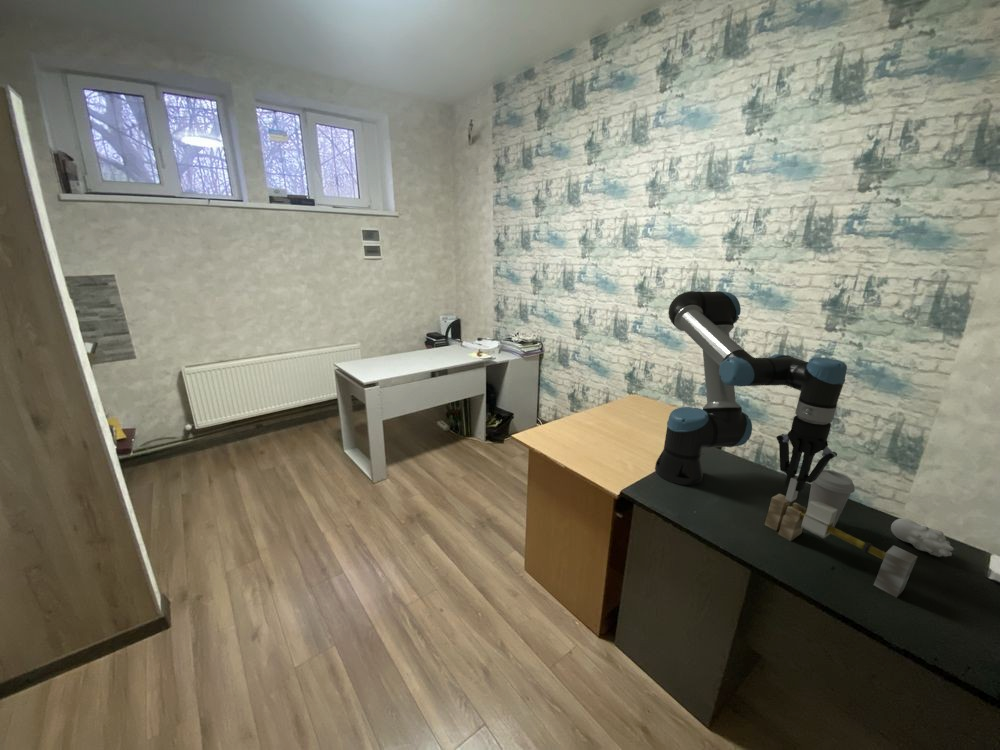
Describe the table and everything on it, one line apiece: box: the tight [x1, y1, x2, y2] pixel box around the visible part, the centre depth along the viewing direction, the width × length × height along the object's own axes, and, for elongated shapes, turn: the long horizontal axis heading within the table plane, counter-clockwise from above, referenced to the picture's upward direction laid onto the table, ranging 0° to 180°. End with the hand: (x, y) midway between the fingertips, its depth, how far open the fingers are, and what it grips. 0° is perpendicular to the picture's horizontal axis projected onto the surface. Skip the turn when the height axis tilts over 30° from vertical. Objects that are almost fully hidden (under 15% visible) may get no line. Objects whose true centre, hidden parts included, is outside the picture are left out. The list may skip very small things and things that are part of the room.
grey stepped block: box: [801, 499, 838, 539], centre depth 100 cm, size 5×4×7 cm
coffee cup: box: [806, 468, 856, 528], centre depth 109 cm, size 10×10×15 cm
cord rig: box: [764, 493, 918, 599], centre depth 98 cm, size 28×6×10 cm, turn 30°
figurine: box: [890, 518, 955, 558], centre depth 102 cm, size 7×7×12 cm
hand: (790, 498), depth 105 cm, fingers closed
